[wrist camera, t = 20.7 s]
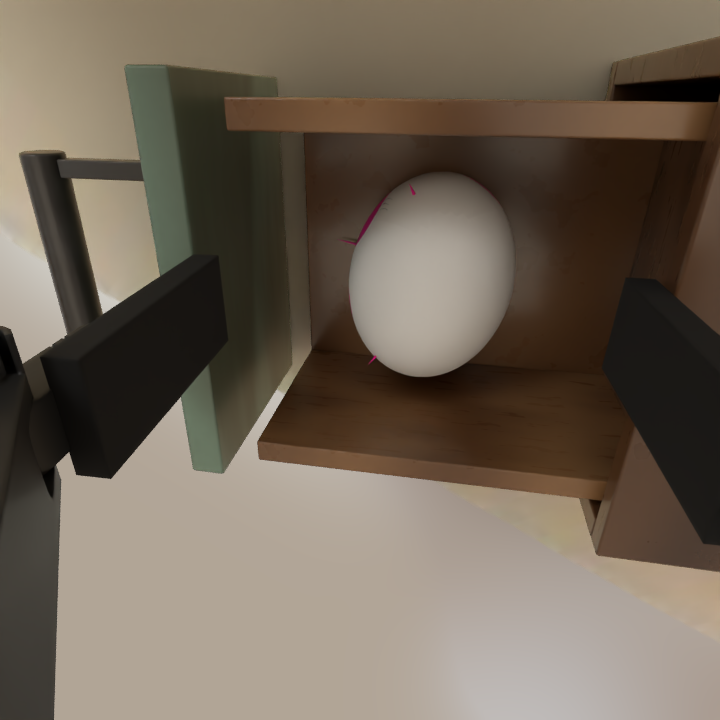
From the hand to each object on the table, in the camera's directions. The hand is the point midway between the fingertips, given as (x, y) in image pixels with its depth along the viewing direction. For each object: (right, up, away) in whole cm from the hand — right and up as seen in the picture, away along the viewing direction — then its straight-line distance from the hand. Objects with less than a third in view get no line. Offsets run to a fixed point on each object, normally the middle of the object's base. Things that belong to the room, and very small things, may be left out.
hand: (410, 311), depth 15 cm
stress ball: (+1, +3, +7) cm, 8 cm away
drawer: (-1, +4, +8) cm, 9 cm away
